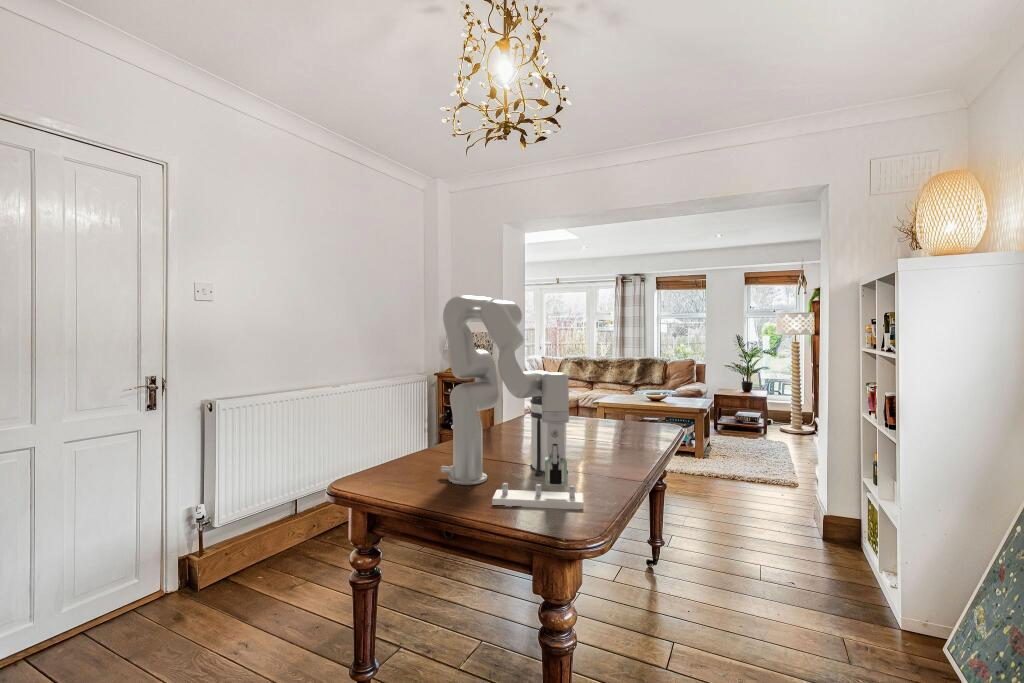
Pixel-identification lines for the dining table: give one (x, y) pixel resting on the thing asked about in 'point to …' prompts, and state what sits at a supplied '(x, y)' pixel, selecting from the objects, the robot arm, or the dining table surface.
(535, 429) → the coffee press
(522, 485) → the dining table surface
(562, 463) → the tall sage green block
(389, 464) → the dining table surface
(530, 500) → the white peg board
